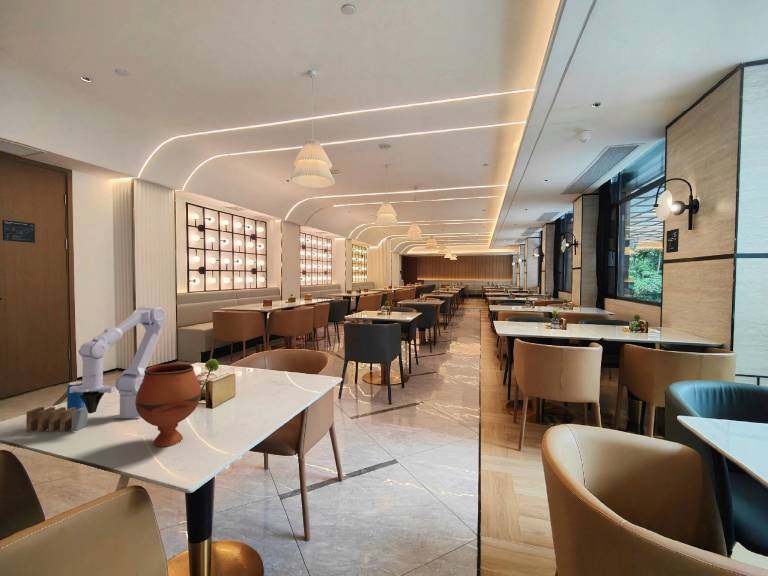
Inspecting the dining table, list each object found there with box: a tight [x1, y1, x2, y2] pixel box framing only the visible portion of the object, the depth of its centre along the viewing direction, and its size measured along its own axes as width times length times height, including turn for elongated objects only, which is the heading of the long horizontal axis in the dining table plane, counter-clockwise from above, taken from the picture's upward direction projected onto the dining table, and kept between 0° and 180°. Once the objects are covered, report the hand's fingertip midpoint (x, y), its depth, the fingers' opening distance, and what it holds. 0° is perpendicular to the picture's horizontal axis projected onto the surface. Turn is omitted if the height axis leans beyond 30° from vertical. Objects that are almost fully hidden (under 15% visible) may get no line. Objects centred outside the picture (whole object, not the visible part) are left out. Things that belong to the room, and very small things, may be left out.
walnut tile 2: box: [59, 407, 76, 433], centre depth 128 cm, size 2×5×7 cm, turn 2°
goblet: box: [135, 363, 202, 448], centre depth 120 cm, size 19×19×25 cm
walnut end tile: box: [25, 406, 45, 433], centre depth 128 cm, size 2×5×7 cm, turn 2°
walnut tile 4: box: [37, 406, 56, 433], centre depth 128 cm, size 2×5×7 cm, turn 2°
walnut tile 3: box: [48, 406, 67, 433], centre depth 128 cm, size 2×5×7 cm, turn 2°
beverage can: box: [66, 380, 86, 410], centre depth 145 cm, size 6×6×12 cm
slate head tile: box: [71, 407, 89, 433], centre depth 129 cm, size 2×5×7 cm, turn 2°
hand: (92, 412), depth 129 cm, fingers closed
